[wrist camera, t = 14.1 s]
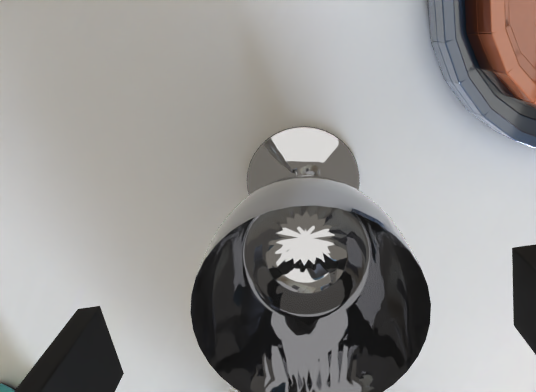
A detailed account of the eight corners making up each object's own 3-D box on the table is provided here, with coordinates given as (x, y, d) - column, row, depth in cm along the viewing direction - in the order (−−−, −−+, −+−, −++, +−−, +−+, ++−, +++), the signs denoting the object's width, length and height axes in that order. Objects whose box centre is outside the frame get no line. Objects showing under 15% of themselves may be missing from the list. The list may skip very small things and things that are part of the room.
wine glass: (297, 92, 28) (299, 151, 14) (392, 177, 29) (484, 311, 15) (215, 187, 30) (143, 322, 16) (307, 261, 31) (316, 448, 17)
